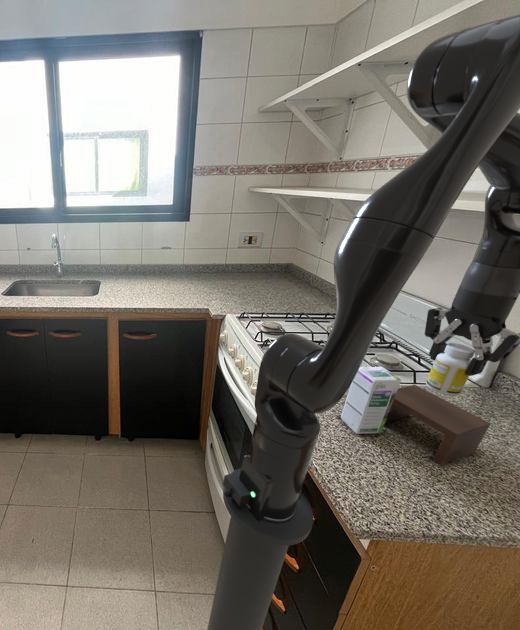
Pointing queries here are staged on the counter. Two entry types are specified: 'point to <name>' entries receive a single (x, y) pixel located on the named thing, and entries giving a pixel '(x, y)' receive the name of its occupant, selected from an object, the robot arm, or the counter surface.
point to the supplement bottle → (450, 369)
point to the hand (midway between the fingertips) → (452, 366)
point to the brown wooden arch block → (441, 421)
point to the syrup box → (370, 399)
